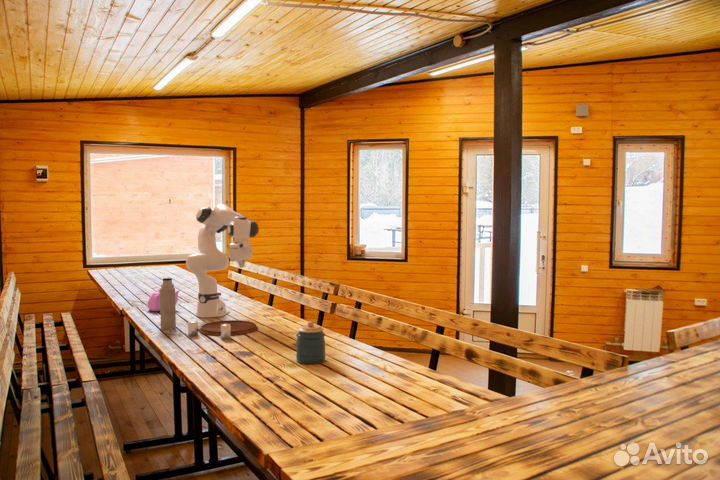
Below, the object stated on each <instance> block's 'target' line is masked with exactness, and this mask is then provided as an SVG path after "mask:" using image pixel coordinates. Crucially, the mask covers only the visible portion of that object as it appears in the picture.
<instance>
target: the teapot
mask: <svg viewBox="0 0 720 480" xmlns="http://www.w3.org/2000/svg"><path fill="white" fill-rule="evenodd" d="M180 291H181V289H180V290H175V305H176V304H177V303H178V301H179V292H180ZM146 306H147V308H148V309H149V311H152V312H160V288H158V291H154V292H152V293H151V295H150V297H149V299H148V300H147V305H146Z"/></svg>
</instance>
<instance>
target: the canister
mask: <svg viewBox="0 0 720 480" xmlns="http://www.w3.org/2000/svg"><path fill="white" fill-rule="evenodd" d="M297 331H298V332H297V333H296V334H295V335H296V337H297V338H296V342H295V344H296V355H295V358H296V362H297V363H299V364H303V365H318V364H322V363H324V362H325V361H326V358H327V356H326V339H325V337H326V335H327V334H326V332H324V328H323V327H321V325H318V324H315V323H314V321H308V323H307V324H304V325H301V326H300V327H299V328H297Z"/></svg>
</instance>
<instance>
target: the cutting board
mask: <svg viewBox="0 0 720 480" xmlns="http://www.w3.org/2000/svg"><path fill="white" fill-rule="evenodd" d="M222 324H230V325H231V337H235V336H236V335H237V336H243V335H248V333H249V334H252V333H255V332H257V331H258V330H257V329H259V327H258V325H257V324H256V323H255V322H253V321H249V320H247V321H246V320H238V319H237V320H233V319H232V320H219V321H218V320H217V321H213V322H212V321H211V322H208V323H205V324H202V325H200V328H198V334H201V335H204V336H210V337H221V325H222ZM256 330H257V331H256Z"/></svg>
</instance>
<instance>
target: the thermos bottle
mask: <svg viewBox="0 0 720 480" xmlns="http://www.w3.org/2000/svg"><path fill="white" fill-rule="evenodd" d="M160 286H161V288H159V289H160V311H159V312H160V329H161V330H174V329H175V328H176V326H177V325H176V324H177V323H176V321H177V319H176V316H177V313H176V304H175V292H176V288H175V284H174V283H173V278H171V277H170V278H169V277H166V278H164V277H163V278H162V284H161V285H160Z"/></svg>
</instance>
